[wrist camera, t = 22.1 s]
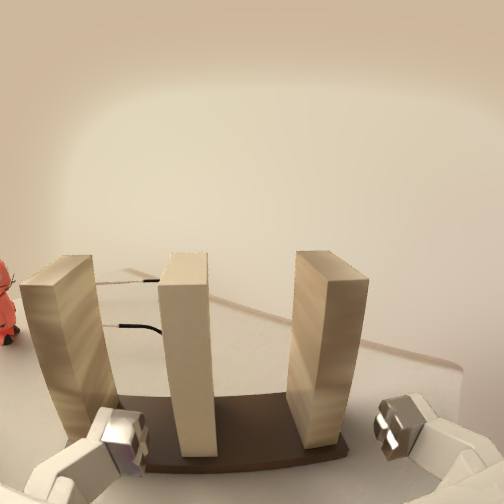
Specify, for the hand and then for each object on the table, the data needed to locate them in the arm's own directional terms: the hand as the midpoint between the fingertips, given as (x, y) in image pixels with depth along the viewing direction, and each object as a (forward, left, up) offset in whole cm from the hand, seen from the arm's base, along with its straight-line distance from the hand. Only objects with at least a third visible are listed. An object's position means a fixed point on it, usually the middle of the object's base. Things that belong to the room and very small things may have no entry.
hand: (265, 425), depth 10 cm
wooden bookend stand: (+10, -4, -12) cm, 16 cm away
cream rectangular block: (+10, -4, -11) cm, 15 cm away
